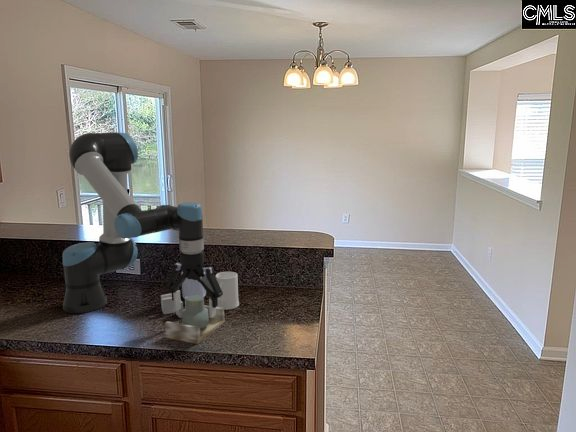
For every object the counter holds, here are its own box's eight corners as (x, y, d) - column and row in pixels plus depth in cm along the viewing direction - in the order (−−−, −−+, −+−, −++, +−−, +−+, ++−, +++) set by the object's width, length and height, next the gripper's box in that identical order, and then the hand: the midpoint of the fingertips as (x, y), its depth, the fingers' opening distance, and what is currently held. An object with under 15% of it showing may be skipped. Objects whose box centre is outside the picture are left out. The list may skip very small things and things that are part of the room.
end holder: (165, 337, 139) (164, 323, 138) (195, 316, 154) (194, 303, 153) (197, 344, 134) (196, 329, 133) (225, 321, 150) (224, 307, 149)
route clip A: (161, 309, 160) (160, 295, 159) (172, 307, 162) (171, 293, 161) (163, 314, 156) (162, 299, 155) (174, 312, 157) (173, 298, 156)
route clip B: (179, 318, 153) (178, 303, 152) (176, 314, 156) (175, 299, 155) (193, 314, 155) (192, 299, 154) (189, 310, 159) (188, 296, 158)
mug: (228, 314, 155) (226, 282, 153) (207, 311, 158) (205, 280, 156) (243, 302, 166) (242, 272, 163) (223, 299, 169) (222, 270, 166)
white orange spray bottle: (210, 293, 175) (207, 234, 170) (198, 301, 167) (194, 240, 162) (190, 290, 178) (187, 232, 173) (178, 299, 170) (174, 238, 165)
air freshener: (183, 320, 148) (181, 293, 146) (208, 318, 150) (206, 290, 148) (183, 335, 138) (181, 305, 136) (209, 332, 140) (208, 303, 138)
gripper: (152, 250, 140) (156, 311, 144) (220, 258, 131) (222, 323, 135) (166, 244, 147) (170, 303, 151) (232, 252, 138) (233, 314, 142)
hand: (195, 313), depth 143 cm, fingers open, 13 cm apart
